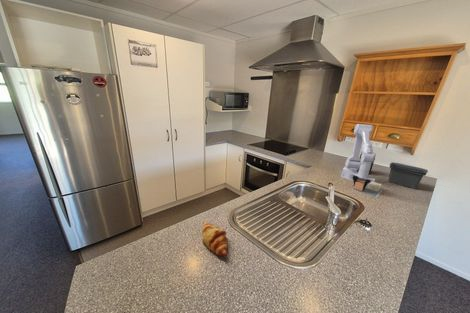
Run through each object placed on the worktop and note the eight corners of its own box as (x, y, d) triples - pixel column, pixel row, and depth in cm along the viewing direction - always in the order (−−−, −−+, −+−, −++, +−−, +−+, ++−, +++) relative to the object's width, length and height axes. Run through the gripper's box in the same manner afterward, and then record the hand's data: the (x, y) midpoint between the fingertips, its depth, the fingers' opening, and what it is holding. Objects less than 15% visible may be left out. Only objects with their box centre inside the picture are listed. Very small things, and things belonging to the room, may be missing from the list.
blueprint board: (350, 190, 130) (352, 184, 129) (359, 182, 143) (360, 177, 141) (376, 199, 120) (378, 192, 118) (382, 190, 133) (384, 184, 131)
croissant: (200, 234, 87) (191, 224, 83) (217, 220, 90) (210, 210, 86) (219, 268, 70) (210, 258, 66) (239, 250, 73) (232, 238, 69)
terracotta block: (353, 188, 131) (355, 182, 129) (355, 186, 134) (357, 180, 132) (361, 191, 127) (363, 184, 126) (363, 189, 130) (365, 182, 129)
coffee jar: (369, 171, 166) (375, 152, 160) (370, 175, 157) (376, 155, 152) (356, 169, 171) (361, 150, 165) (356, 172, 163) (361, 153, 157)
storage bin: (383, 181, 147) (388, 164, 143) (387, 176, 157) (392, 160, 153) (419, 192, 132) (427, 173, 128) (421, 185, 143) (428, 168, 138)
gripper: (350, 167, 128) (346, 185, 133) (375, 174, 118) (369, 193, 123) (353, 165, 133) (349, 182, 137) (378, 172, 123) (372, 190, 127)
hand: (359, 187), depth 130 cm, fingers closed on terracotta block, 5 cm apart
